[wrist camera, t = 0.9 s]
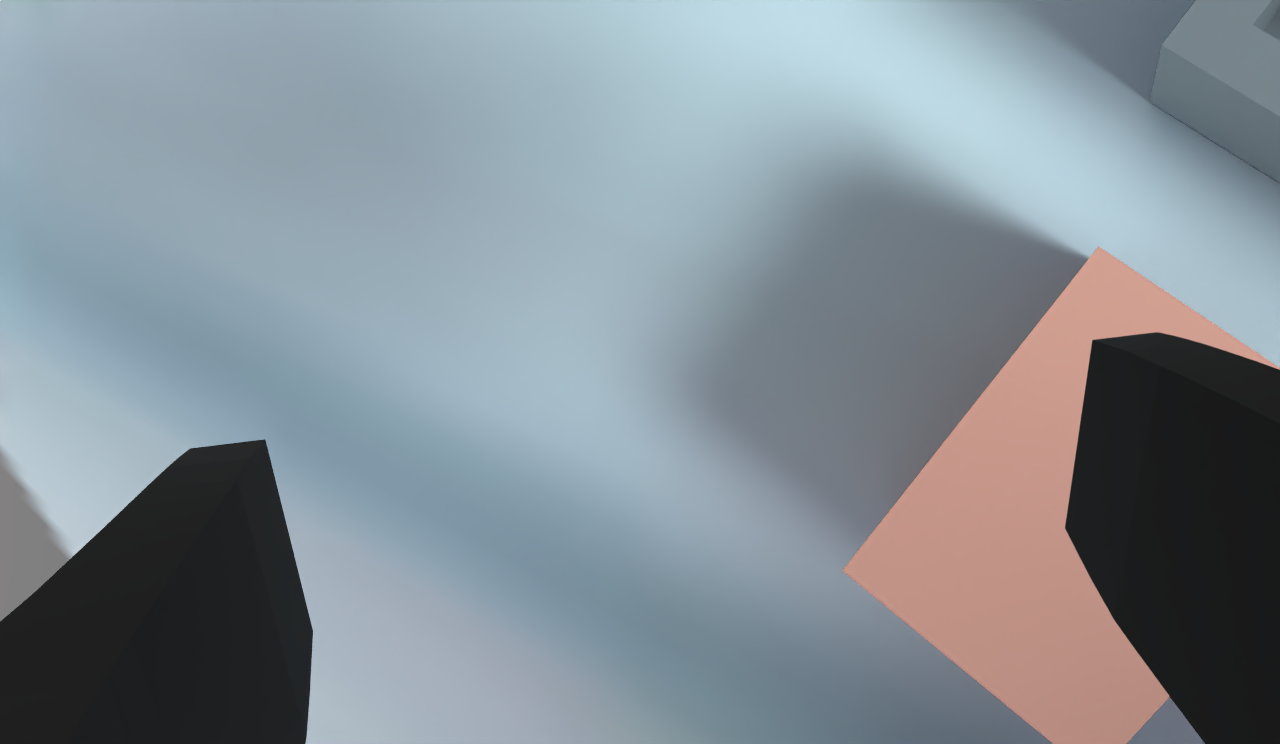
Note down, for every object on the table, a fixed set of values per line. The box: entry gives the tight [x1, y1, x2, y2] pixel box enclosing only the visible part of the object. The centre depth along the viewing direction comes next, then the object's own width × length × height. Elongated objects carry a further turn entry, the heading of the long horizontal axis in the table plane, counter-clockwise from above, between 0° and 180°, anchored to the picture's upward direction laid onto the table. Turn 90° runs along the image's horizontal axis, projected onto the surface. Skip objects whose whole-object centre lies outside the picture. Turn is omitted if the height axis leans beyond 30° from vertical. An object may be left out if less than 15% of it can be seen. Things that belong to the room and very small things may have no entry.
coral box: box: [842, 247, 1280, 744], centre depth 19 cm, size 4×6×5 cm
